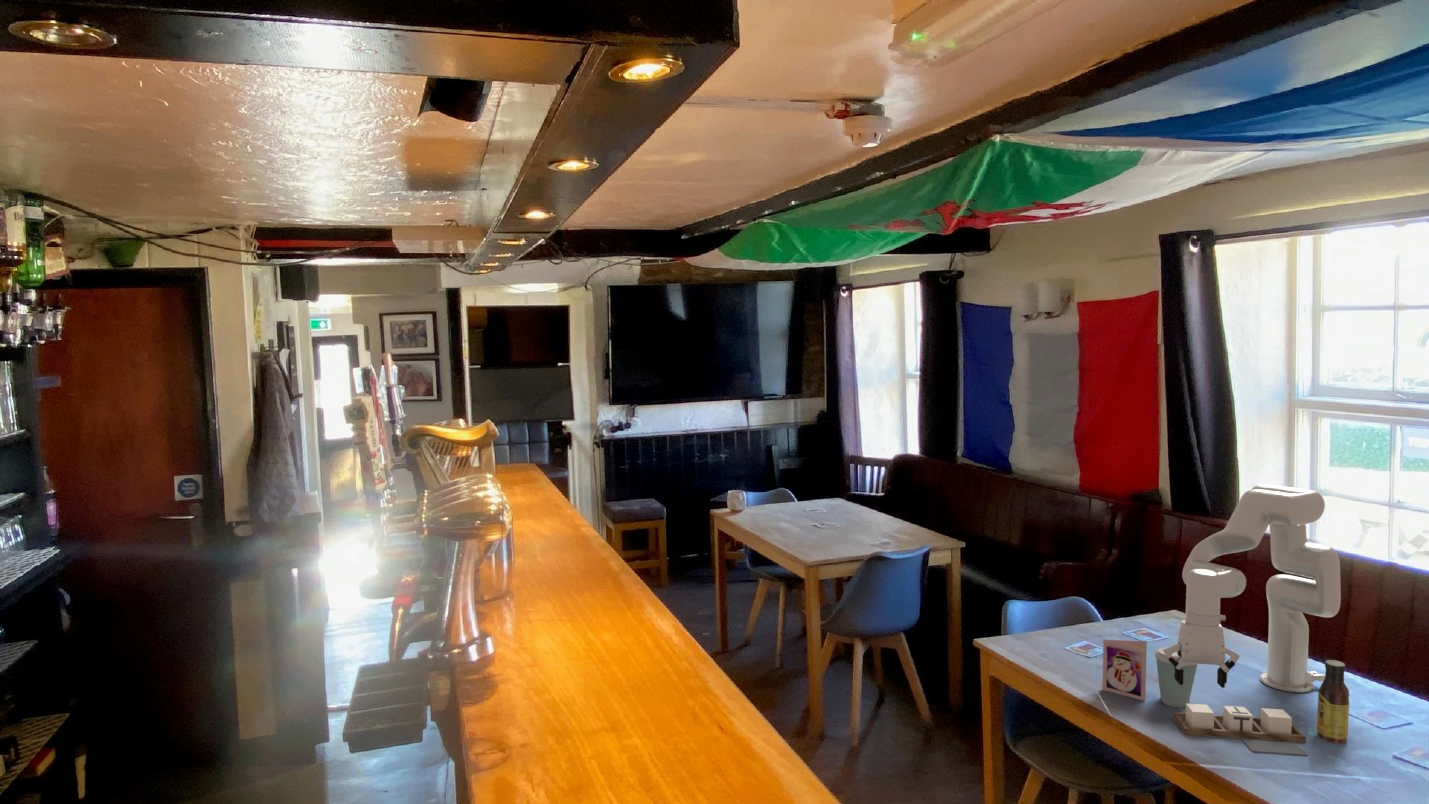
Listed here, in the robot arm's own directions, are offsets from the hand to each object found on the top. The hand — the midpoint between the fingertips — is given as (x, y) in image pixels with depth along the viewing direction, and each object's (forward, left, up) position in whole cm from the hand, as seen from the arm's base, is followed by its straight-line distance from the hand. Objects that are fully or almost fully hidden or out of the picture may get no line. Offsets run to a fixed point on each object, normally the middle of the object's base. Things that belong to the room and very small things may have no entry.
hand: (1200, 684), depth 220 cm
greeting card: (+12, -20, -12) cm, 26 cm away
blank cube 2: (-18, 0, -11) cm, 21 cm away
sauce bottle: (-30, +1, -12) cm, 32 cm away
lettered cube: (-9, 0, -11) cm, 14 cm away
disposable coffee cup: (+1, -15, -12) cm, 19 cm away
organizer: (-9, 0, -12) cm, 15 cm away
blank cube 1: (0, 0, -11) cm, 11 cm away
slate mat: (-14, +9, -12) cm, 20 cm away
